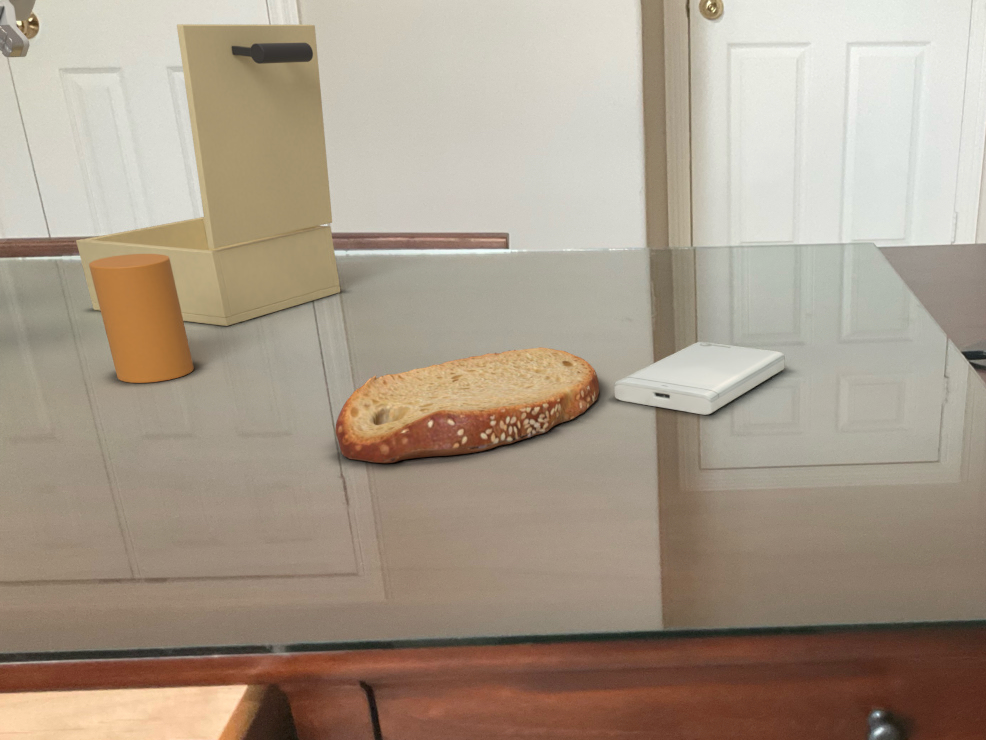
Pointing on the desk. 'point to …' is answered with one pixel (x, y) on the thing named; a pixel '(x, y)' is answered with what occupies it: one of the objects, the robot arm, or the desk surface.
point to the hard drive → (700, 377)
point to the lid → (256, 128)
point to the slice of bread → (465, 405)
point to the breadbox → (228, 268)
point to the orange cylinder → (142, 317)
